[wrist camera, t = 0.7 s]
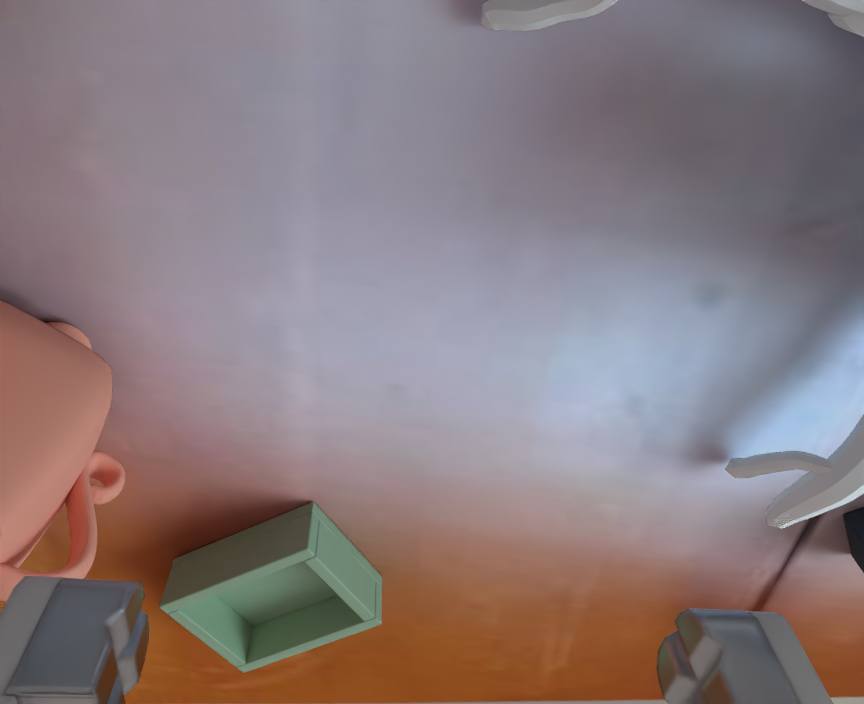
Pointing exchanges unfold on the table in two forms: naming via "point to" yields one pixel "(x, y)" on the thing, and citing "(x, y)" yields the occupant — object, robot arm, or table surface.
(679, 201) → the table surface
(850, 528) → the dark rectangular block
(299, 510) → the frame
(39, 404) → the teapot
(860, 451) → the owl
